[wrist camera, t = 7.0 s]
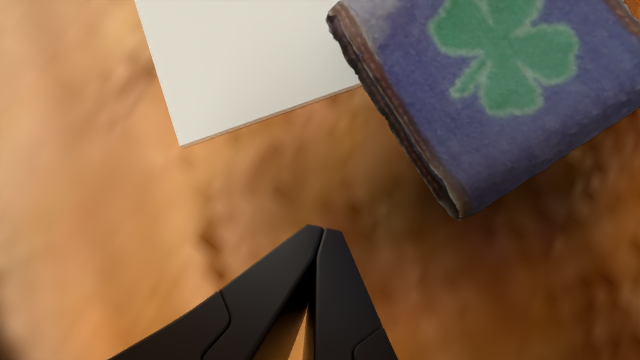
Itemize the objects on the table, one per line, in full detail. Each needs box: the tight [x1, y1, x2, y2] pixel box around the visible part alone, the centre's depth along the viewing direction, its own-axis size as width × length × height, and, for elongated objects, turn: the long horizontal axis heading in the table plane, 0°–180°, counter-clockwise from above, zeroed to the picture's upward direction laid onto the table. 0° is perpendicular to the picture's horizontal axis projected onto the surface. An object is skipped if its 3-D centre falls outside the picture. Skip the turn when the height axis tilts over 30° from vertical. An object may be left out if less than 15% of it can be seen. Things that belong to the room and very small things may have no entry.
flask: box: [325, 0, 640, 222], centre depth 19 cm, size 10×3×12 cm
